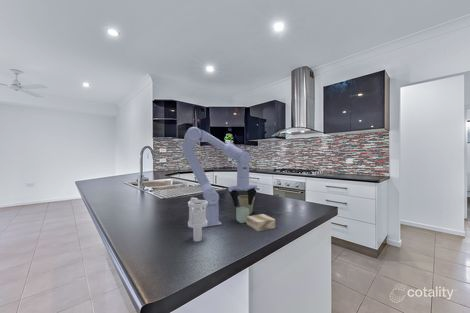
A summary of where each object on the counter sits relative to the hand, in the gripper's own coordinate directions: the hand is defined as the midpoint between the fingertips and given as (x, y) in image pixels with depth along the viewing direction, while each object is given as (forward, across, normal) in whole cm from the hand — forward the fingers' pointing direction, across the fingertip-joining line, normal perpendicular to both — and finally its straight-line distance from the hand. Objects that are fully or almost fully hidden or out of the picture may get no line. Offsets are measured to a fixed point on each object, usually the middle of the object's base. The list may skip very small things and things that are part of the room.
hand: (242, 205), depth 95 cm
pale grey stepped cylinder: (+7, -25, -12) cm, 29 cm away
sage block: (+7, 0, 0) cm, 7 cm away
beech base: (+8, +4, -10) cm, 13 cm away
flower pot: (+8, +8, +11) cm, 16 cm away
